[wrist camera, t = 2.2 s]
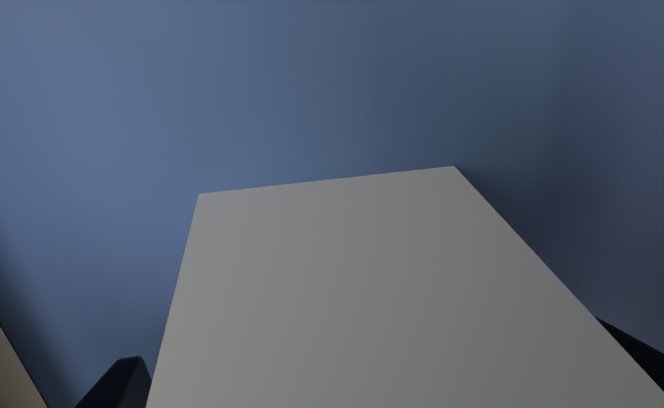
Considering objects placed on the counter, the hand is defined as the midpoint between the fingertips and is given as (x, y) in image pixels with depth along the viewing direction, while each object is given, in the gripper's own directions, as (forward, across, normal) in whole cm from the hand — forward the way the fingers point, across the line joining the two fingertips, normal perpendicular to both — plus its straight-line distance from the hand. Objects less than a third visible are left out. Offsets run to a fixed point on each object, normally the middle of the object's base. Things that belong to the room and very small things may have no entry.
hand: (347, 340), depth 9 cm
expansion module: (+1, 0, 0) cm, 1 cm away
